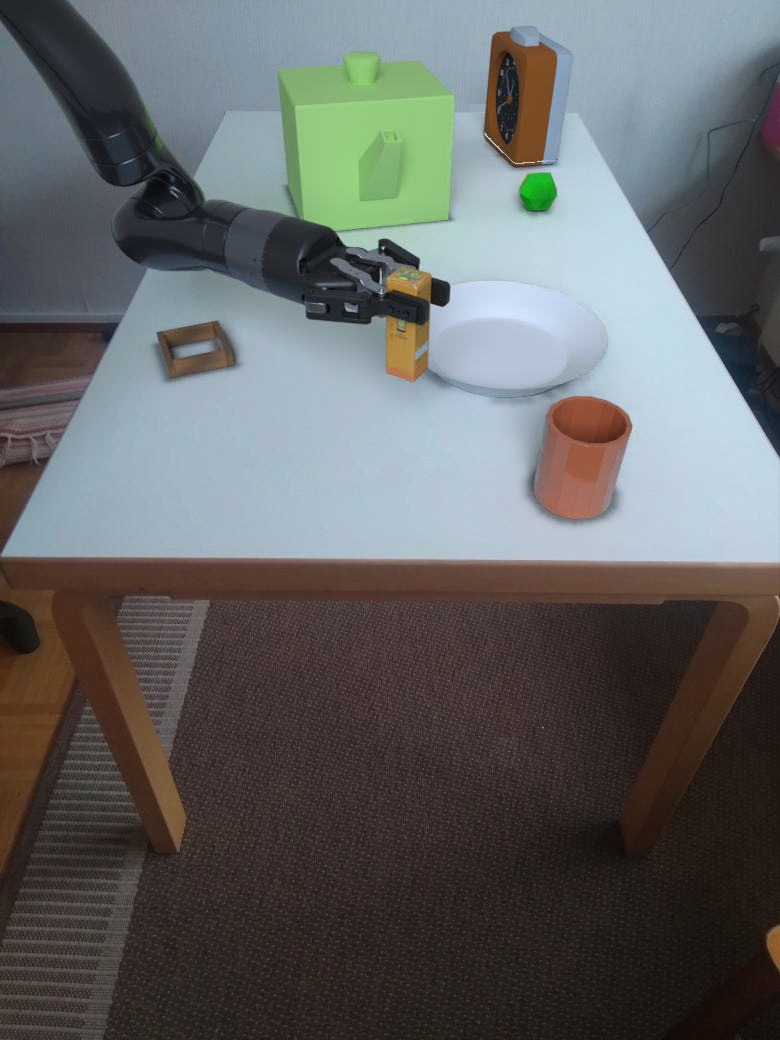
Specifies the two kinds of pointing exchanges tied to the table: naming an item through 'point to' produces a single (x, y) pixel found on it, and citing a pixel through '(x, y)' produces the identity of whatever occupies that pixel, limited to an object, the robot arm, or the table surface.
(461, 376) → the white plate
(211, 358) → the wooden frame
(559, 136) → the alarm clock
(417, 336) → the supplement box
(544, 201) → the green faceted polyhedron
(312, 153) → the teapot
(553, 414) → the cup
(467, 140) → the table surface
